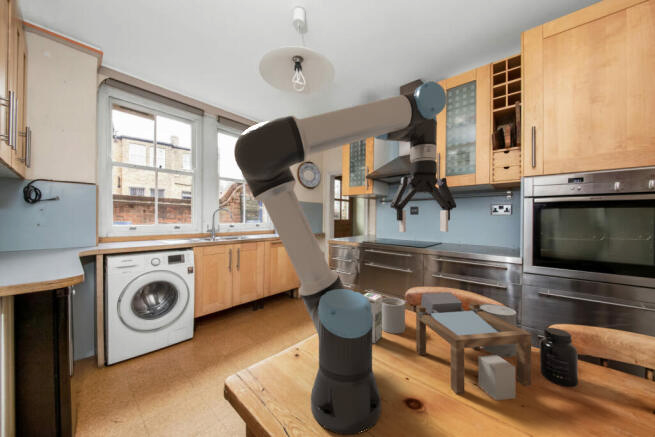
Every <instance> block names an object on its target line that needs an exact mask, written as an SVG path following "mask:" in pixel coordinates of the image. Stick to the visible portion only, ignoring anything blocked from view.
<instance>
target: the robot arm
mask: <svg viewBox="0 0 655 437" xmlns="http://www.w3.org/2000/svg"><path fill="white" fill-rule="evenodd" d="M446 104H447V94H446V91H445V89H444V87H443V86H442V85H441V84H440V83H438V82H437V81H430V80H429V81H425V82H424V83H423V84H421V85H419V86H417V87H416V89H415V90H414V91H410V92H407V93H403V94H401V95H395V96H390V97H388V98H383V99H378V100H374V101H370V102H366V103H362V104H357V105H353V106H348V107H344V108H341V109H337V110H332V111H328V112H324V113H323V112H322V113H319V114H314V115H311V116H306V117H303V118H297V117H296V116H295V115H294V114H293V115H292V114H290V115H288V116H283V117H278V118H276V119H275V118H274V119H271V120H267V121H264V122H261V123H258V124H255V125H253V126H250V127H249V128H247V129H246V130H245V131H243V132H242V133H241V134H240V136H238V138H237V140H236V142H235V145H234V153H233V154H234V160H235V163H236V165H237V167H238V169H239V170H240V172H241V175H242V177H243V178H244V180H245V182H246V184H247V186H248V188H249V190H250V192H251V194H252V196H253V198H254V200H255V201H258V202H261V203H262V204H263V205H264V207H265V210H266V212H267V214H268V216H269V218H270V221H272V225H273V227H274V229H275V231H276V233H277V235H278V237H279V239H280V241H281V243H282V246H283V247H284V250H285V251H286V254H287V256H288V258H289V260H290V263H291V265H292V266H293V268H294V270H295V273H296V275H297V277H298V280H299V281H300V283H301V285H300V288H299V291H298V293H299V295H300V297H301V300H302V301H303V304H304V305H305V308H306V311H307V312H308V315H309V316H310V318H311V320H312V324H313V326H314V328H315V330H316V333H317V335H318V369H317V372H316V376H315V379H314V382H313V385H312V389H311V393H310V394H311V395H310V409H311V413H312V415H313V417H314V419H315V420H316V421H317V423H318V424H319V425H321V426H322V425H323V426H325V427H326V428H328V429H330V430H332V431H331V432H333V431H335V432H334V433H336V432H337V433H336V434H340V433H341V434H340V435H356V434H355V433H357V434H360V433H359V432H361V431H364V430H366V429H368V428H370V427H371V426H372V427H373V426H375V424H377V422H378V420H380V419H379V418H380V416H381V412H382V410H381V409H382V406H381V405H382V401H381V393H380V390H379V388H378V384H377V381H376V377H375V374H374V372H373V343H372V324H373V315H372V307H371V303H370V301H369V300H368V299H367V297H365V296H364V295H365V294H362V293H360V292H358V291H354V290H352V289H345V286H344V284H343V282H342V280H341V277H340V275H339V273H338V272H337V271H336V270H332V269H330V266H329V264H328V262H327V260H326V258H325V256H324V253H323V251H322V248H321V247H320V244H319V242H318V240H317V238H316V236H315V233H314V232H313V229H312V227H311V225H310V223H309V220H308V218H307V216H306V214H305V212H304V210H303V207H302V206H301V204H300V201H299V199H298V197H297V195H296V193H295V190H294V189H295V186H296V183H297V181H296V179H295V176H294V173H293V172H292V170H291V168H290V167H292V166H295V165H296V164H300V163H304V162H306V160H307V159H308V157H309V156H311V155H315V154H318V153H322V152H325V151H329V150H332V149H335V148H340V147H342V146H346V145H350V144H353V143H354V144H355V143H357V142H361V141H363V140H367V139H370V138H373V137H374V138H375V139H376V140H382V141H385V142H386V141H390V142H392V141H393V142H403V143H409V151H410V153H409V154H410V155H409V161H410V165H409V168H410V169H409V172H410V174H409V175H410V177H408V176H404V177H400V181H399V186H398V189H397V191H396V193H395V195H394V196H393V199H392V200H391V203H390V208H391V209H394V210H395V211H396V222H397V221H399V223H398V225H399V226H398V228H399V229H398V230H399V233H406V232H407V215H406V214H407V213H406V212H407V210H406V209H404V208H405V207H406V206H407V205H408V203H409V202H410V201H411V200H412V198H413V197H414V196H415V194H417V193H418V194H420V193H424V194H427V193H429V195H431V197H432V198H433V199H434V200H435V201H436V203H437V205H439V207H440V208H441V210H440V211H439V213H440V216H439V219H440V220H439V222H440V223H439V225H440V226H439V227H440V232H443V233H444V232H446V233H448V232H449V221H450V220H451V211H452V210H453V209H455V208H457V204H456V201H455V199H454V197H453V194H452V193H451V190H450V189H449V186H448V181H447V178H446V177H441V178H437V174H438V162H437V161H436V160H437V156H438V155H437V153H438V152H437V147H438V146H437V144H438V143H437V138H438V137H437V135H438V133H437V132H438V119H437V116H438V115H439V114H440V113H441V112H442V111H444V109H445V108H446ZM408 185H411V187H410V188H409V190H408V191H407V193H406V194H405V195H404V193H405V191H406V190H407V186H408ZM437 186H438V187H437ZM403 195H404V197H403ZM402 197H403V198H402ZM323 426H322V427H323ZM325 427H324V428H325ZM372 427H371V428H372ZM326 428H325V429H326ZM371 428H370V429H371ZM328 429H327V430H328ZM330 430H329V431H330ZM368 430H369V429H368ZM366 431H367V430H366ZM364 432H365V431H364ZM361 433H362V432H361Z"/></svg>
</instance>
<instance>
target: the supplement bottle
mask: <svg viewBox="0 0 655 437" xmlns="http://www.w3.org/2000/svg"><path fill="white" fill-rule="evenodd" d="M572 343H573V340H572V334H571V333H570V332H568V331H566V330H563V329H560V328H555V327H546V328H544V337H542V338H541V339H540V340H539V361H540V364H539V366H540V374H541V375H542V377H543V378H545V380H548V382H550V383H552V384H554V385H557V386H560V387H564V388H571V389H572V388H576V387H578V384H579V369H578V368H579V367H578V364H579V362H578V359H579V358H578V350H577V348H576V347H575V346H574V345H573V344H572Z"/></svg>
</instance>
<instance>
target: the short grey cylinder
mask: <svg viewBox="0 0 655 437" xmlns="http://www.w3.org/2000/svg"><path fill="white" fill-rule="evenodd" d="M480 308H481V309H483V311H484V312H486V313H488V314H490V315H492V316H495V317H497V318H499V319H501V320H503V321H505V322H507V323H509V324H511V325H513V326H516V327H517V311H516V310H515V309H513V308H510V307H507V306H505V305H500V304H494V303H480ZM490 326H491V325H490ZM491 327H492V328H494V329H495V330H496V331H497V332H503V331H501V330H499V329H497V328H495V327H493V326H491ZM480 349H482V350H484V351H485V352H487V353H490V355H498V356H499V357H501V358H513V357H516V344H505V345H494V346H483V347H480Z"/></svg>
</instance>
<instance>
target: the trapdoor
mask: <svg viewBox="0 0 655 437" xmlns="http://www.w3.org/2000/svg"><path fill="white" fill-rule="evenodd" d="M421 305H422V306H424V307H425V308H426V312H427V313H428V315H430V316H431V317H433V318H434V319H435V320H437V321H438V322H440V323H441V324H443V325H444V326H445V327H447V328H448V329H450V330H451V331H453V332H454V333H455V334H457V335H469V334H482V333H494V332H497V331H496V330H495V329H494V328H492V327H491V326H490V325H489V324H488V323H487V322H485V321H484V320H483V319H482V318H481V317H479V316H478V315H477V314H476V313H475V312H473V311H469V310H465V309H464V308H463V302H462V301H461V300H460V299H459V298H458V297H456V295H454V294H453V293H452V292H434V293H433V292H432V293H431V292H430V293H429V292H428V293H422V294H421V302H420V306H421Z"/></svg>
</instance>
